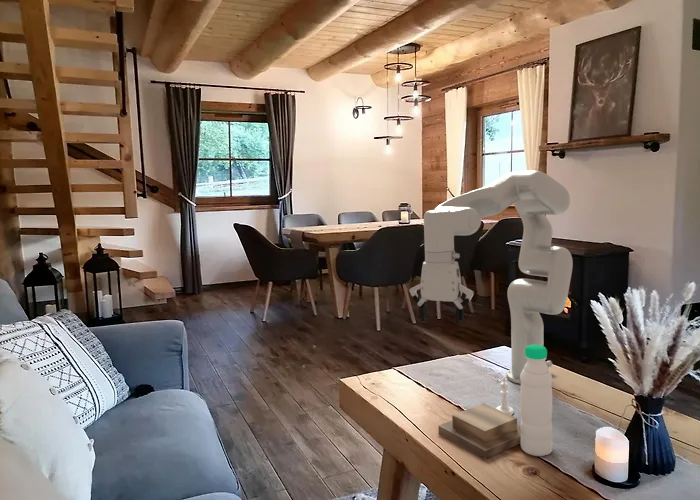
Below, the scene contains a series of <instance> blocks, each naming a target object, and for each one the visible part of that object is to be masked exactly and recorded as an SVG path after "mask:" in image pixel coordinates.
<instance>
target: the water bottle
mask: <svg viewBox="0 0 700 500" xmlns="http://www.w3.org/2000/svg"><path fill="white" fill-rule="evenodd" d="M525 355H526V358H527V363H526V364H525V366H524V369H523V370H522V372H521V374H520V381H521V384H520V391H519V392H520V395H519V396H520V399H519V401H520V403H519V404H520V408H519V409H520V419H521V420H520V425H521V443H520V448H521V449H522V451H523V452H525V453H526V454H527V455H531V456H534V457H545V455H546V456H548V455H550V454H551V453H552V452H553V437H552V436H553V423H552V421H553V420H552V419H553V389H552V388H553V387H552V384H553V375H552V373H551V372H550V370H549V367H547V365H546V363H545V362H546V360H547V357H548V349H547V348H546V347H545V346H544V345H543V346H541V345H528V346H527V347H526V348H525Z"/></svg>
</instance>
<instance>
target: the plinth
mask: <svg viewBox="0 0 700 500" xmlns="http://www.w3.org/2000/svg"><path fill="white" fill-rule="evenodd" d="M451 417H452V419H451V420H449V421H447V422H443V423H442V424H438V426H437V427H438V428H437V429H438V434H440V435H441V436H444V437H445V438H447V439H449V440H450V441H452V442H454V443H456V444H458V445H460V446H462V447H463V448H465V449H467V450H468V451H471V452H472V453H474V454H476V455H477V456H479V457H482V458H483V459H484V460H487V459H490V458H491V457H493V456H496V455H498V454H500V453H504V452H505V451H507V450H509V449H511V448H514V447H516V446H518V445H521V424H519V423H518V418H517V417H515V416H513V415H509V414H507V413H504V412H502V411H500V410H497V409H496V408H495V407H492V406H491V405H488V404H486V403H481V404H478V405H475V406H473V407H470V408H467V409H465V410H462V411H459V412H457V413H453V414H452V416H451Z"/></svg>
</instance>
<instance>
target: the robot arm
mask: <svg viewBox="0 0 700 500" xmlns="http://www.w3.org/2000/svg"><path fill="white" fill-rule="evenodd" d="M512 205H514V206H513V207H514V209H515V210H516V211H517V213H518V215H519V216H520V218H521V222H522V226H523V234H522V239H521V245H520V251H519V256H518V268H519V270H520V272H521V273H523V274H526V275H529V276H536V277H537V276H538V277H545V278H547V281H544V280H539V279H532V278H531V279H530V278H517V279H515V280H513V281H511V283H510V284H509V286H508V288H507V301H508V305H509V306H508V307H509V311H510V322H511V323H510V327H511V329H510V331H511V332H510V335H511V337H510V338H511V339H510V340H511V369H509V370H507V372H506V379H507V380H509V381H511V382H513V383H516V384H519V385H521V381H520V374H521V372H522V370H523V369H524V366H525V364H526V363H527V358H526V355H525V348H526V347H527V346H528V345H541V346H544V321H543V318H542V316H541V313H542V314H546V315H555V316H556V315H559V314H561V313H562V312H563V311H564V309H565V307H566V305H567V301H568V296H569V289H570V283H571V280H572V279H571V278H572V275H573V274H572V273H573V267H574V266H573V265H574V264H573V261H574V260H573V257H572V253H571V252H570V251H569V249H568V248H566V247H563V246H558V245H552V239H553V227H552V224H551V221H549V219H548V217H547V216H546V215H553V216H554V215H555V216H557V215H562V214H564V213H565V212H566V211H567V210H568V209H569V207H570V205H571V198H570V194H569V191H568V189H567V188H566V187H565V186H564V185H563V184H562V183H560V182H558V181H557V180H555V178H553V177H552V176H550V175H548V173H545V172H543V171H539V170H519V171H510V172H507V173H505V174H503V175H501V176H500V177H497V178H496V179H495V180H493V181H492V182H490V183H487V184H486V185H484V186H483V187H481V188H480V187H479V188H478V189H474V190H470V191H468V192H466V193H463V194H459V195H456V196H454V197H451V198H449V199H448V200H446V201H443V202H442V203H440V204H439V205H437V206H436V207H434V209H431V210H430V209H429V210H427V211H425V213H424V214H423V231H424V232H423V235H424V239H423V240H424V261H423V262H422V267H421V275H420V283H419V284H417V285H415V286H413V287H410V288H409V290H408V291H409V293H410V296H412V299H413V301H414V302H415V303H416V304H417V307H418V308H419V309H418V311H419V317H420V321H421V322H425V320H427V319H428V304H427V303H426V302H427V301H435V302H436V301H437V302H438V301H439V302H453V303H454V304H455V306H456V309H455V319H456V321H455V323H456V324H457V325H460V324H461V323H462V322H463V321H465V307H466V305H468V304H469V303H470V302H471V301H472V298H473V296H474V294H475V291H474V290H472V289H470V288H468V287H466V286H464V285H463V284H462V278H461V272H460V266H459V262H458V261H455V260H457V259H460V257H461V255H460V253H459V252H456V250H455V236H471V235H473V234H474V233H476V232H477V231H479V229H480V227H481V224H482V218H486V217H490V216H495V215H498V214H500V213H501V212H503V211H504V210H506V209H507V208H509V207H510V206H512ZM418 291H420V295H419V294H418V293H417V292H418ZM463 294H465V295H466V296H465V298H464V299H462V298H461V297H462V295H463ZM545 363H546V365H547V367H548V368H550V367H552V366H553V361H552V360H547V361H546V360H545Z"/></svg>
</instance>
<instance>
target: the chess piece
mask: <svg viewBox="0 0 700 500" xmlns="http://www.w3.org/2000/svg"><path fill="white" fill-rule="evenodd" d="M508 380H509V379H508V378H506V376H502V378H500V381H501V382H500V387H501V390H500V395H501V394H502V397H501V404H500V405H499V406H497V407H496V408H495V409H497V410H500V411H502V412H504V413H507V414H509V415H511V416H513V415H514V414H515V412H514V411H515V410H514V408H513V407H511V406H509V405H508V400H507V395H508V394H509V391H508V386H509V383H507V382H508ZM513 413H514V414H513ZM512 414H513V415H512Z"/></svg>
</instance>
